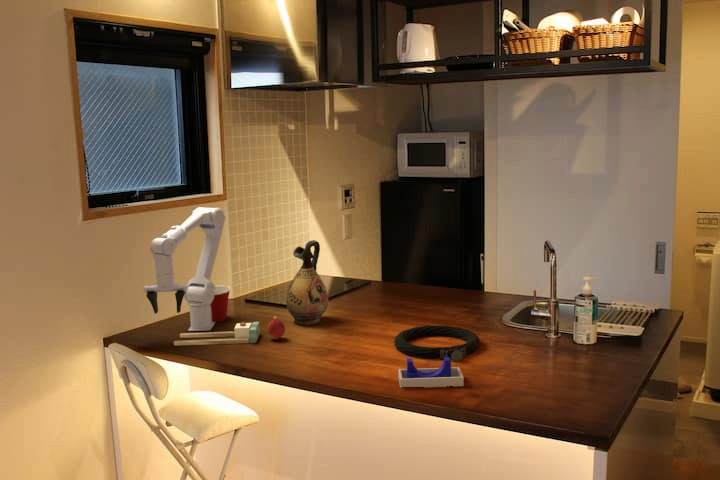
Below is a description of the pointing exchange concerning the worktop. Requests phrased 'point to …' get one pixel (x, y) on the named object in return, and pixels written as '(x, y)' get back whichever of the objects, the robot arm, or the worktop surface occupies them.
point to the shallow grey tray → (431, 379)
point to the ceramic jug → (307, 288)
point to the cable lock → (437, 352)
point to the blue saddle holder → (441, 372)
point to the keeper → (242, 330)
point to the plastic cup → (220, 303)
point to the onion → (276, 328)
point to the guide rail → (253, 334)
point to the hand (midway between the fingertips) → (167, 312)
